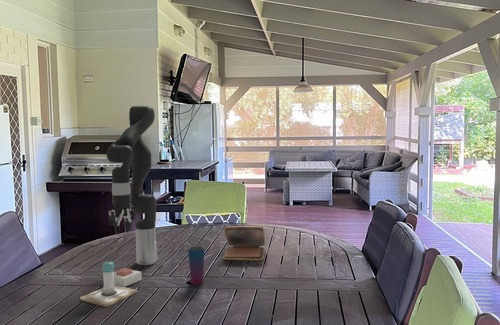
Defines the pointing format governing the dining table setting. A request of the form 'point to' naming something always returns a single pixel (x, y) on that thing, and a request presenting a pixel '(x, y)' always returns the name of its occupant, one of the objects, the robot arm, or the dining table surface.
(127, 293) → the paper board
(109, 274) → the marker
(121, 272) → the button
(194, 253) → the cup
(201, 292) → the dining table surface
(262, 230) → the case
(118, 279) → the button housing
